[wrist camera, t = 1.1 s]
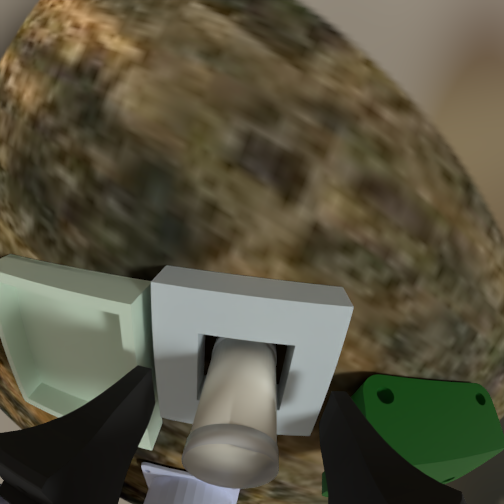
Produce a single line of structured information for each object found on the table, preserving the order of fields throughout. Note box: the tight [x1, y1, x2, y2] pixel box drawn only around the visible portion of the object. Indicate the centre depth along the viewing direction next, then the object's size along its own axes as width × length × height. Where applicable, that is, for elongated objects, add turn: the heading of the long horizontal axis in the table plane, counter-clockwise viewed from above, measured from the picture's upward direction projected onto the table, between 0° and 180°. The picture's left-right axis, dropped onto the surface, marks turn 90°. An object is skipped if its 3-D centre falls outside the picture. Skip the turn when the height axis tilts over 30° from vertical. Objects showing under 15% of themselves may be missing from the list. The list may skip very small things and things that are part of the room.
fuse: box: [182, 337, 279, 489], centre depth 11 cm, size 3×3×7 cm
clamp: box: [322, 374, 504, 497], centre depth 13 cm, size 12×6×9 cm, turn 68°
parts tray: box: [0, 254, 162, 451], centre depth 14 cm, size 10×10×2 cm
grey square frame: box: [151, 265, 354, 436], centre depth 13 cm, size 8×8×2 cm
